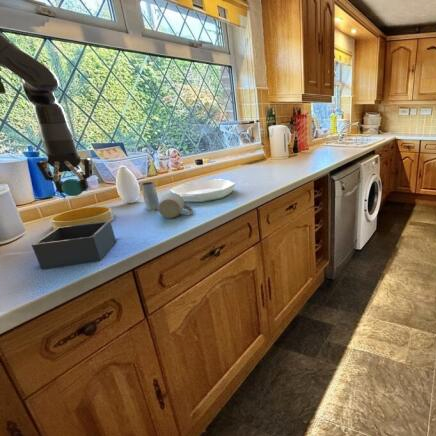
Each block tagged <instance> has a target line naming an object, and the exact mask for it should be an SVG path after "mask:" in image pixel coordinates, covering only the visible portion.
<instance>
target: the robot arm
mask: <svg viewBox="0 0 436 436" xmlns="http://www.w3.org/2000/svg"><path fill="white" fill-rule="evenodd" d="M0 67H1V68H5V69H7V70H9V71H10V72H11V73H12V74H15V75H16V76H17V77H18V78H19V83H20V86H21V89H22V91H23V92H24V95H25V97H26V99H27V100H28V102H29V104H30V107H31V108H32V111H33V115H34V118H35V121H36V124H37V128H38V135H39V137H40V141H41V142H42V145H43V149H44V152H45V154H46V160H40V161H37V162H36V163H35V165H36V166H37V168H38V170H39V171H40V173H41V174H42V176H43V178H44V179H45V181H50V182H53V183H54V186H55V189H56V192H59V194H65V193H64V192H63V191H62V188H61V186H62V183H63V182H64V181H63V180H62V176H63V173H65V172H72V173H73V174H74V175H75V176H76V177H77V178H78V179H79V182H80V185H81V188H82V191H83V192H87V191H88V189H89V187H90V186H89V183H88V180H87V179H88V178H91V177H92V176H93V161H92V159H91V158H84V157H83V158H81V157H80V155H79V154H78V149H77V146H76V143H75V140H74V135H73V133H72V130H71V128H70V126H69V124H68V120H67V117H66V114H65V111H64V108H63V106H62V105H61V104H60V103H58V101H57V98H56V96H55V94H54V92H56V91H57V90H58V88H59V85H60V82H59V79H58V77H57V76H56V74H55V73H54V72H53V71H52V70H51V69H50V68H48V67H47V66H46V65H45V64H43V63H42V62H40V60H37V59H35V58H34V57H32V56H31V55H30V54H28V53H27V52H25V51H23V50H21V49H20V48H19V47H17V45H15V43H13V42H12V41H10V40H9V39H8V38H7V37H5V36H4V35H3V34H2V33H0ZM80 164H82V165H83V167H84V171H83V169H82V168H81V167H80V166H79V165H80ZM50 166H51V167H52V168H53V172H51V170H50V168H49V167H50Z"/></svg>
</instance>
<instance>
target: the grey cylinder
mask: <svg viewBox="0 0 436 436" xmlns="http://www.w3.org/2000/svg"><path fill="white" fill-rule="evenodd" d="M140 189H141V191H142V196H143V201H144V205H145V208H146V210H147V211H153V210H154V211H159V210H158V206H159V203H160V201H159V197H158V193H157V188H156V184H155V182H154V181H146V182H142V183H140Z"/></svg>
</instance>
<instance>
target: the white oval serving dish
mask: <svg viewBox="0 0 436 436" xmlns="http://www.w3.org/2000/svg"><path fill="white" fill-rule="evenodd" d="M235 187H236V183H235V182H233V181H230V180H228V179H223V178H215V179H205V180H199V181H193V182H186V183H183V184H179V185H176V186H174V187H172V188H169V189H168V190H169V191H170V192H169V193H176V194H178V195H180V196H181V197H182V198H183V200H184V203H206V202H210V201H211V202H212V201H216V200H220V199H223V198H225V197H227V196H229V195H230V194H232V192H233V191H234V189H235Z"/></svg>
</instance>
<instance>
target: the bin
mask: <svg viewBox="0 0 436 436" xmlns="http://www.w3.org/2000/svg"><path fill="white" fill-rule="evenodd" d="M116 239H117V238H116V236H115V233H114V230H113V226H112V221H111V222H110V221H107V222H99V223H90V224H82V225H74V226H65V227H58V228H56V229H55V230H54V229H52V230H51V231H50V232H49V233H47V234H46V235H44V236H43V237H41V238H40V239H39V240H37V241H36V242H34V243H33V244H31V247H32V250H33V252H34V254H35V257H36V259H37V262H38V265H39V267H40V269H41V270H47V269H54V268H61V267H68V266H74V265H81V264H89V263H95V262H100V261H102V260H103V259H104V257H105V256H106V255H107V254H108V253H109V252H110V250H111V249H112V248H113V247H114V245H116V243H117V240H116Z"/></svg>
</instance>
